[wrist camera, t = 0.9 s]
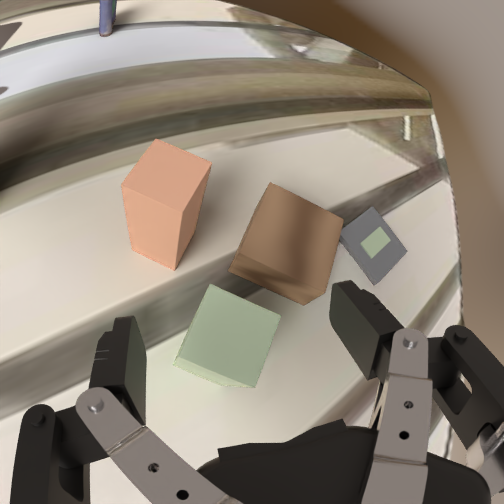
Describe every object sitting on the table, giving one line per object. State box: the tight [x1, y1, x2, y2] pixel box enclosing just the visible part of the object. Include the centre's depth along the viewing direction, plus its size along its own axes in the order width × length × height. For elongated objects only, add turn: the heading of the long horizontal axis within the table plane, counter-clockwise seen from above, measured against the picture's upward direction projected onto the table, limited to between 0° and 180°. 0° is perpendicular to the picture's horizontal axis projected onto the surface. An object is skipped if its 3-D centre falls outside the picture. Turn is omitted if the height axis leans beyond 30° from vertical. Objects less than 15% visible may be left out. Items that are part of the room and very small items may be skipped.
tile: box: [339, 206, 407, 285], centre depth 40 cm, size 8×8×1 cm
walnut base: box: [228, 182, 344, 305], centre depth 34 cm, size 9×9×5 cm
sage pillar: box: [173, 284, 281, 388], centre depth 25 cm, size 5×5×12 cm
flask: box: [99, 0, 117, 37], centre depth 41 cm, size 9×3×11 cm, turn 12°
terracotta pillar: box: [121, 139, 212, 271], centre depth 28 cm, size 5×5×12 cm
